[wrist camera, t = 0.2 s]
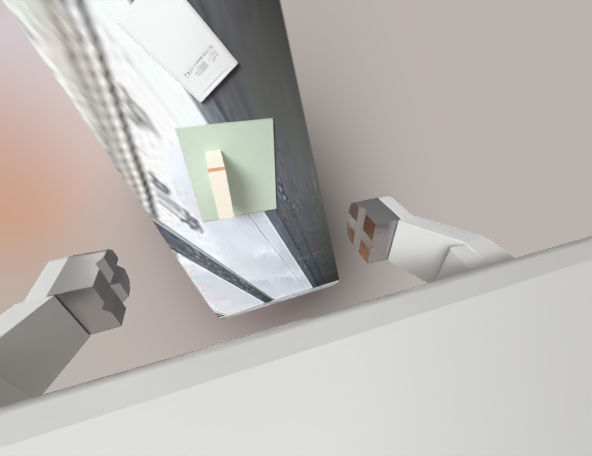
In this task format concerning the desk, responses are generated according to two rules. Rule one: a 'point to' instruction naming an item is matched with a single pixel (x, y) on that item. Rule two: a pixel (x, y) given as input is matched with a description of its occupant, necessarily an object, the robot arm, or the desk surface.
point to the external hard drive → (179, 43)
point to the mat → (232, 164)
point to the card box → (219, 184)
